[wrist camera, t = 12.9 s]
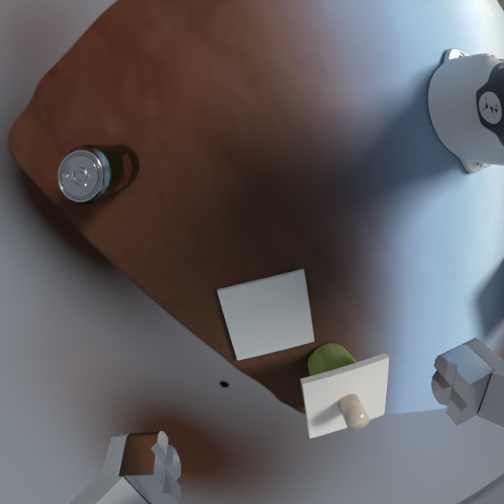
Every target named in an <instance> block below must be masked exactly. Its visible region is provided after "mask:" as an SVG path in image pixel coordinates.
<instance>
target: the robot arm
mask: <svg viewBox="0 0 504 504" xmlns="http://www.w3.org/2000/svg"><path fill="white" fill-rule="evenodd" d="M428 107H429V113H430V117H431V121H432V124H433V126H434V129H435V131H436V133H437V135H438V137H439V138H440V140H441V141H442V143H443V144H444V145H445V146H446V147H447V148H448V149H449V150H450V151H451V152H452V153H454V154H455V155H456V156H457V157H458V158H459V159H460V161H461V162H462V164H463V166H464V168H465V169H466V170H467V171H468V172H470V173H475V172H477V171H479V170H481V169H483V168H485V167H487V166H489V165H491V164H495V165H504V59H497V56H494V55H490V54H477V55H470V54H468V53H465V52H463V51H460V50H458V49H454V48H453V49H448V50H447V51H446V54H445V58H444V62H443V64H442V65H441V66H440V67H439V68H438V69H437V70H436V71H435V73H434V74H433V76H432V78H431V81H430V85H429V90H428ZM476 162H477V163H476ZM434 367H435V368H436V369H437V371H436V372H435V374H434V375H433V377H432V383H431V386H432V391H433V394H434V396H435V398H436V400H437V401H438V402H439V403H440V404H443V405H446V406H447V412H446V413H447V414H448V415H449V416H450V418H451V419H452V420H453V422H454V423H455V424H456V425H459V424H461V423H463V422H465V421H467V420H468V419H470V418H472V417H474V416H476V415H477V414H478V416H479V417H482V418H484V419H486V420H489V421H491V422H493V423H496V424H498V425H500V426H503V427H504V361H503V360H502V359H501V358H500V357H499V356H497V355H496V354H495V353H494V352H493V351H492V350H491V349H489V348H488V347H487V346H486V345H485V344H484V343H482V342H481V341H480V340H479V339H476V338H474V339H472V340H470V341H468V342H466V343H464V344H462V345H459V346H457V347H455V348H453V349H451V350H449V351H447V352H445V353H443V354H441V355H439V356H437V358H436V359H435V364H434ZM180 476H181V466H180V460H179V457H178V454H177V452H176V450H175V449H174V447H172V446H170V445H168V438H167V436H166V435H165V433H164V432H163V431H157V432H142V433H128V434H114V435H113V437H112V438H111V442H110V445H109V449H108V453H107V457H106V461H105V465H104V469H103V473H102V476H97V477H96V478H95V479H94V480H93V481H92V482H91V483H90V484H89V485H88V486H87V487H86V488H85V489H84V490H83V491H82V492H81V493H80V494H79V495H78V496H76V497H75V499H73V500H72V501H71V502H70V503H69V504H180V486H179V485H178V484H177V483H176V480H177V479H178V478H179V477H180ZM457 504H504V473H503V474H502V475H501V476H499V477H498V478H496V479H495V480H494V481H492V482H491V483H489V484H488V485H486V486H485V487H483V488H482V489H480V490H479V491H477V492H475V493H474V494H472V495H471V496H469V497H468V498H466V499H464V500H462V501H461V502H459V503H457Z"/></svg>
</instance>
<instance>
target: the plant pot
mask: <svg viewBox="0 0 504 504" xmlns="http://www.w3.org/2000/svg"><path fill="white" fill-rule="evenodd" d="M354 363H357V362H356V361H355V359H354V358H353V357H352V356H351V355H350V354H349V353H348V352H347V351H346V350H345V348H344V347H342V346H340V345H338V344H336V343H328V344H324V345H322V346H320V347H318V348H317V349H316V350H315V351H314V353H313V354H312V355H311V356H310V357H309V359H308V370H309V375H310V376H313V375H317V374H321V373H324V372H328V371H331V370H334V369H338V368H341V367H344V366H348V365H351V364H354Z"/></svg>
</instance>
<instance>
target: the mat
mask: <svg viewBox="0 0 504 504" xmlns="http://www.w3.org/2000/svg"><path fill="white" fill-rule="evenodd" d="M217 292H218V296H219V299H220V303H221V306H222V310H223V313H224V317H225V320H226V324H227V327H228V331H229V334H230V337H231V341H232V344H233V347H234V351H235V354H236V357H237V360H242V359H246V358H251V357H255V356H259V355H264V354H268V353H272V352H276V351H280V350H284V349H288V348H292V347H295V346H299V345H303V344H307V343H310V342H314V334H313V327H312V320H311V313H310V306H309V299H308V292H307V286H306V279H305V273H304V270H303V269H300V270H296V271H292V272H288V273H283V274H279V275H275V276H271V277H267V278H263V279H259V280H255V281H250V282H246V283H242V284H238V285H233V286H229V287H225V288H220V289H217Z"/></svg>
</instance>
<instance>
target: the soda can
mask: <svg viewBox="0 0 504 504" xmlns="http://www.w3.org/2000/svg"><path fill="white" fill-rule="evenodd" d="M138 170H139V162H138V158H137V156H136V154H135V152H134V151H133V150H132V149H130V148H129V147H127V146H124V145H82V146H78V147H76V148H74V149H72V150H71V151H70V152H69V153H68V154H67V155H66V156H65V158H64V159H63V161H62V162H61V164H60V167H59V170H58V183H59V187H60V189H61V191H62V192H63V194H64V195H65V196H66V197H67V198H69V199H70V200H72V201H74V202H76V203H79V204H91V203H94V202H96V201H98V200H100V199H102V198H104V197H106V196H108V195H110V194H112V193H114V192H116V191H118V190H120V189H122V188H125V187H127V186H128V185H130V184H131V183H132V182H133V181H134V180H135V178H136V176H137V174H138Z"/></svg>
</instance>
